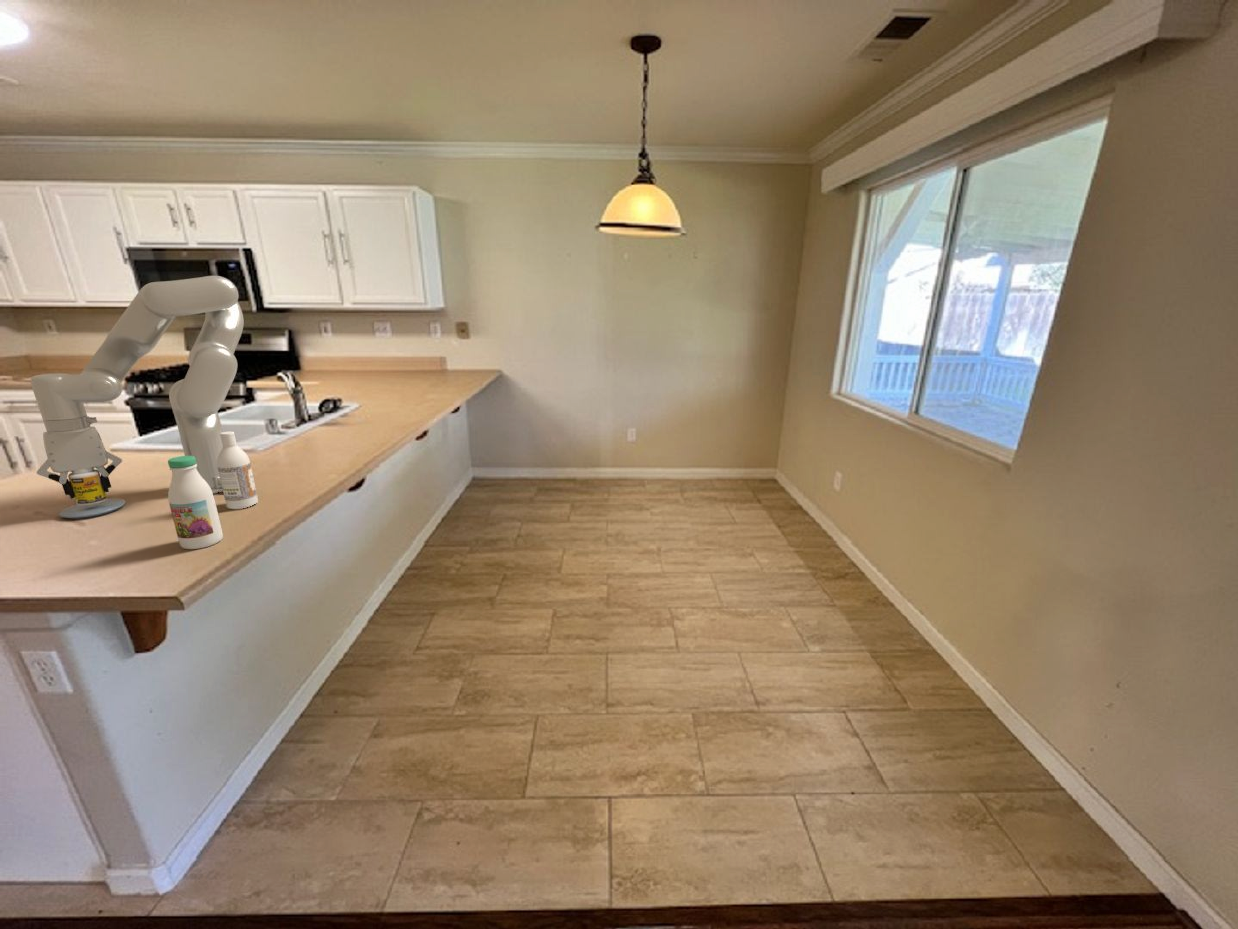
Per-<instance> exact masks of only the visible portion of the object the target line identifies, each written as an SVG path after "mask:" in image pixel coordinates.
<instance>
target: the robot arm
mask: <svg viewBox="0 0 1238 929" xmlns="http://www.w3.org/2000/svg"><path fill="white" fill-rule="evenodd" d="M238 290H239V289H238V288H237V286H236V285H235V283H233V282H232V281H231V280H230V279H228V278H227V277H224V276H220V275H207V276H201V277H193V278H186V279H185V278H184V279H176V280H167V281H166V280H165V281H153V282H149V283H147V284H144V285H143V286H142V287H141V289H140V290H139V291H137V294H136V295H135V296H134V298H133V299H132V301H131V302H130V304H129V305H128V306H127V308H126V309H125V310H124V312H123V313H122V315H121V316H120V317H119V319H118V320H117V321H116V322H115V324H114V325H113V327H112V328H111V330H110V331H109V332H108V334H107V336H106V338H105V339H104V341H103V342H102V343H101V345H100V346H99V348H97V350H96V352H95V353H94V354H93V356H91V359H90V360H89V362H87V364H86V365H85V367H84V368H83V369H82V371H81V373H80V374H71V373H64V372H63V373H61V372H58V373H55V372H54V373H42V374H36V375H33V376H32V377H31V378H30V380H29V381H30V386H31V388H32V392H33V394H34V398H35V400H36V403H37V406H38V410H39V413H40V415H41V419H42V421H43V424H44V427H45V428H44V429H45V431H43V433H42V435H43V444H44V449H45V454H46V457H47V459H45V461H44V462H43V464H42V465H40V467H39V468H38V469H37V470H36V475H39V476H41V477H44V478H47V479H49V480H51V481H54V482H57V483H59V484H60V485H61V486H62V489H63V492H64V495H65V496H69V497H70V498H69V499H75V496H74V493H73V490H72V487H71V484H70V481H69V478H68V475H69V472H71V471H76V470H79V469H90V468H94V469H95V470H98V471H99V473H100V476H101V481H102V484H103V488H104V491H105V493H109V492H110V491H109V489H111V488H113V487H112V485H111V481H110V478H109V476H110V475H111V473H112V472H113V471H115V469H116V468H117V467H118V466H120V464H122V462H123V459H122V458H121V457H119V456H117V455H115V454H113V453H111V452H109V451H108V450H106V448H105V445H104V443H103V440H102V437H101V435H100V433H99V432H98V430H97V428H96V426H91V425H92V424H95V423H98V421H97V417H92V416H88V414H87V410H86V408H85V404H84V403H107V402H111V401H114V400H116V399H118V398H119V397H120V396H121V394H122V392H123V385H122V383H123V381H125V378H126V377H127V376H128V374H129V372H130V371H131V370H132V368H133V367H134V366H135V365H136V364H137V362H139V360H141V359H142V358H143V357H144V356H147V354H149V353H150V352H151V351H152V350H153V349H154V348H155V347H156V346H157V344H158V342H159V341H160V340H161V338H162V336H163V335H164V333H166V331H167V329H168V328H169V326H170V325H171V324H172V323H173V321H174V319H175V318H176V317H184V316H185V317H186V316H192V315H198V314H204V313H205V318H204V321H203V324H202V327H201V330H200V332H199V334H198V336H197V337H196V340H195V343H194V344H193V346H192V348H191V350H190V352H189V353H188V357H187V362H188V365H189V368H188V370H187V373H186V375H185V377H184V378H183V379H180V380H178V381H176V382H174V384H173V385H172V386H171V387H170V390H169V393H168V396H169V403H170V405H171V406H170V407H171V409H172V413H173V415H174V419H175V422H176V427H177V430H178V434H179V437H180V442H181V447H182V449H183V450H182V451H183V454H184V455H183V456H194V457H195V459H196V464H197V466H196V469H197V471H198V473H199V474H200V475H201V477H202V478H203V479H204V480H205V481H206V482H207V483H208V485H209V486H210V488H211V490H212V493H213V495H214V494H219V493H223V489H222V485H221V480H220V476H219V472H218V467H217V459H218V456H219V454H220V452H221V450H222V448H223V445H222V440H221V436H220V433H222V432H224V431H223V426H222V423H221V419H220V415H219V412H218V411H219V410H220V409H221V407H222V405H223V403H224V401H225V399H226V397H227V395H228V394H229V390H230V388H231V386H232V384H233V382H234V380H235V377H236V374H237V371H238V360H237V358H236V356H235V351H236V350H237V347H238V345H239V341H240V339H241V337H242V334H243V329H244V322H245V321H244V320H245V319H244V314H243V310H242V308H241V304H240V303H239V302H238V301H239V297H240V296H239V291H238ZM109 460H110V461H112V462H111V463H110V464H109V465H108V463H109ZM106 465H107V467H105V466H106ZM49 469H50V470H51V471H52V472H51V471H48V470H49ZM56 473H59V474H56ZM71 473H72V472H71ZM218 492H219V493H218Z"/></svg>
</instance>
